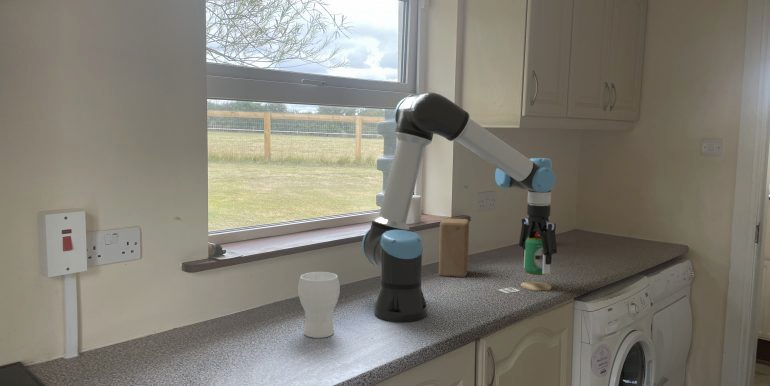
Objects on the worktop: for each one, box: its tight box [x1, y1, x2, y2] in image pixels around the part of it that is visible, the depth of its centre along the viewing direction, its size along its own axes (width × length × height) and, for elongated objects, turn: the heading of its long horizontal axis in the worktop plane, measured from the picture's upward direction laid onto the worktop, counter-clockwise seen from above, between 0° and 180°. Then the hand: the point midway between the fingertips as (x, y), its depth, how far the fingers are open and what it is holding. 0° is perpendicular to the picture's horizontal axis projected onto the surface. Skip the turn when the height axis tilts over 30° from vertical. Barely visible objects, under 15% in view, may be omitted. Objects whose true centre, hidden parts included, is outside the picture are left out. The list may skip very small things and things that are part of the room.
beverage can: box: [524, 236, 549, 276], centre depth 198 cm, size 8×8×12 cm
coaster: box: [520, 281, 552, 292], centre depth 199 cm, size 10×10×1 cm
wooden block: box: [438, 217, 470, 278], centre depth 216 cm, size 10×10×20 cm
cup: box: [297, 271, 341, 339], centre depth 151 cm, size 11×11×15 cm
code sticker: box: [497, 287, 521, 294], centre depth 195 cm, size 6×4×1 cm
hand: (536, 270), depth 199 cm, fingers closed on beverage can, 8 cm apart
